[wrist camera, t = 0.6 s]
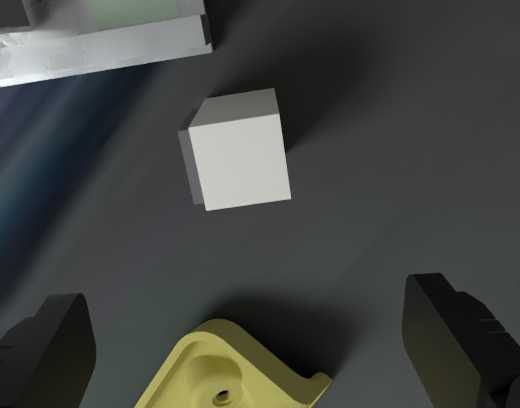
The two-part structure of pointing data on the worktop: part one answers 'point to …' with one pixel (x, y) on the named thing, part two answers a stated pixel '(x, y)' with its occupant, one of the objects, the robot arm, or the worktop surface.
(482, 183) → the worktop surface
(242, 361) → the plastic component
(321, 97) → the worktop surface
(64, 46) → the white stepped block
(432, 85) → the worktop surface
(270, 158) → the block
